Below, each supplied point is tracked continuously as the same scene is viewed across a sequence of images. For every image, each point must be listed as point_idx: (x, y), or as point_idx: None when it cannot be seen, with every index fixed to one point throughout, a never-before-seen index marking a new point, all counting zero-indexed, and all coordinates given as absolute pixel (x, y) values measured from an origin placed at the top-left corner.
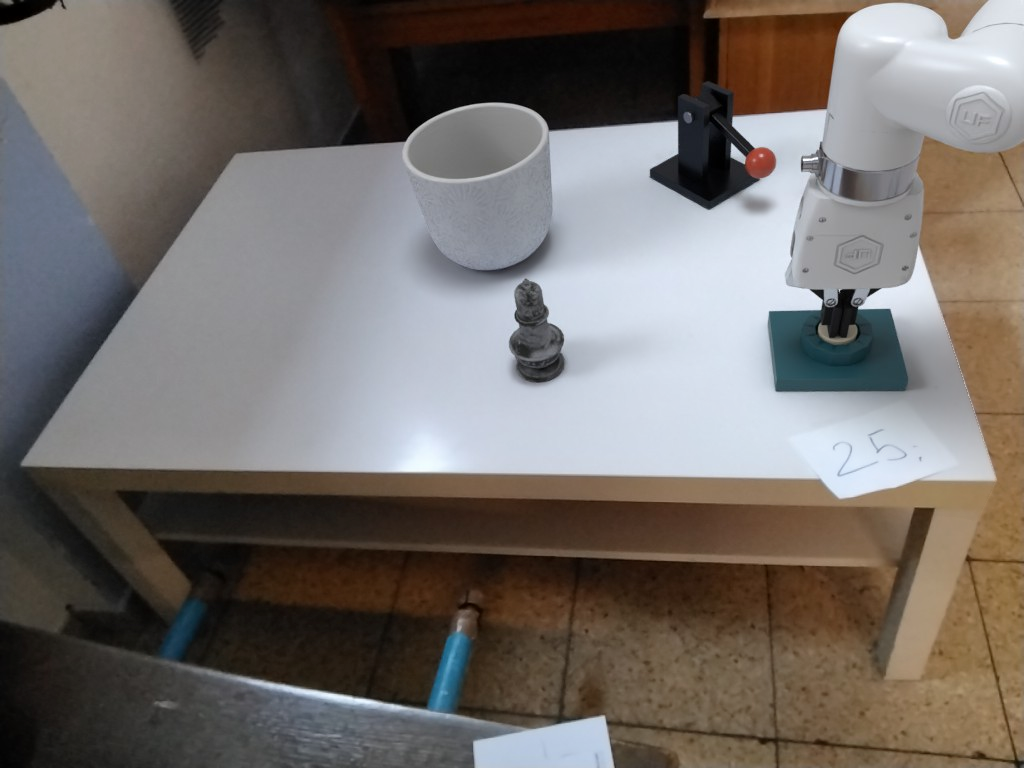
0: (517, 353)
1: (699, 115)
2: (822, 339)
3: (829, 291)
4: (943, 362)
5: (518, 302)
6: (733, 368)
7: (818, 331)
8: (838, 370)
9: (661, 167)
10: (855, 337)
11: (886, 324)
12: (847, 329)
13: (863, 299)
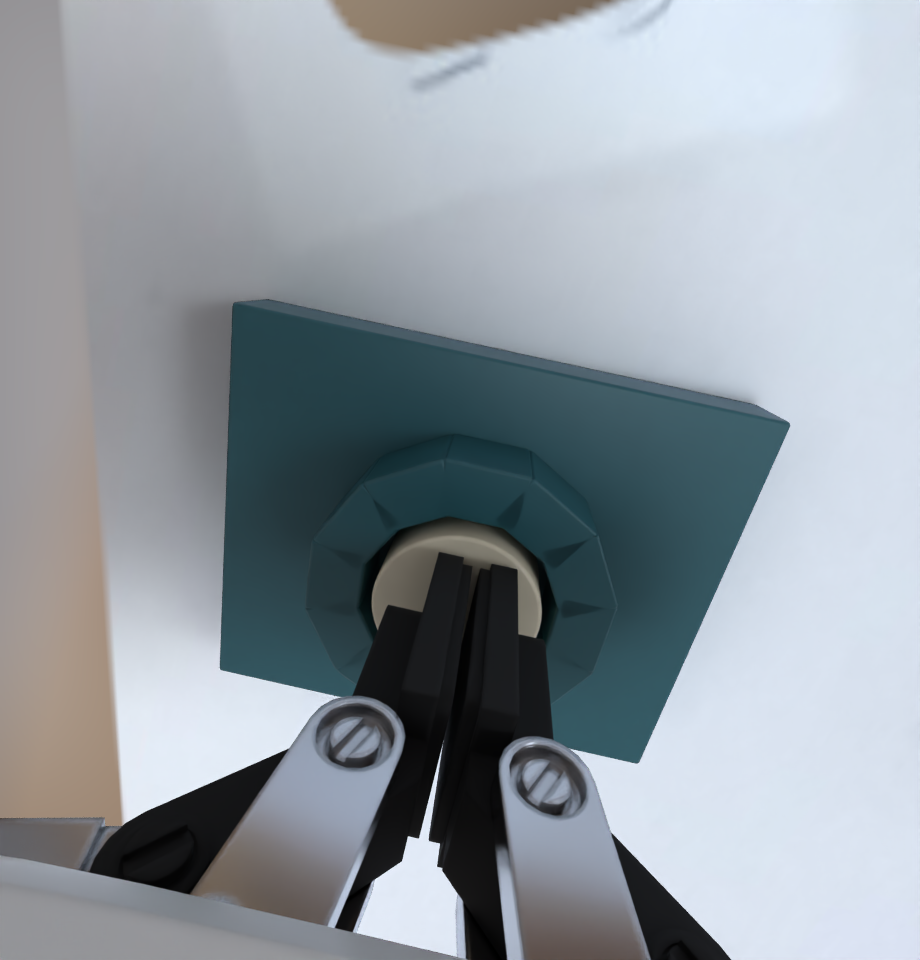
0: None
1: None
2: (536, 576)
3: (587, 908)
4: (107, 414)
5: None
6: (853, 556)
7: (540, 620)
8: (506, 416)
9: None
10: (392, 551)
11: (249, 605)
12: (436, 580)
13: (311, 745)
